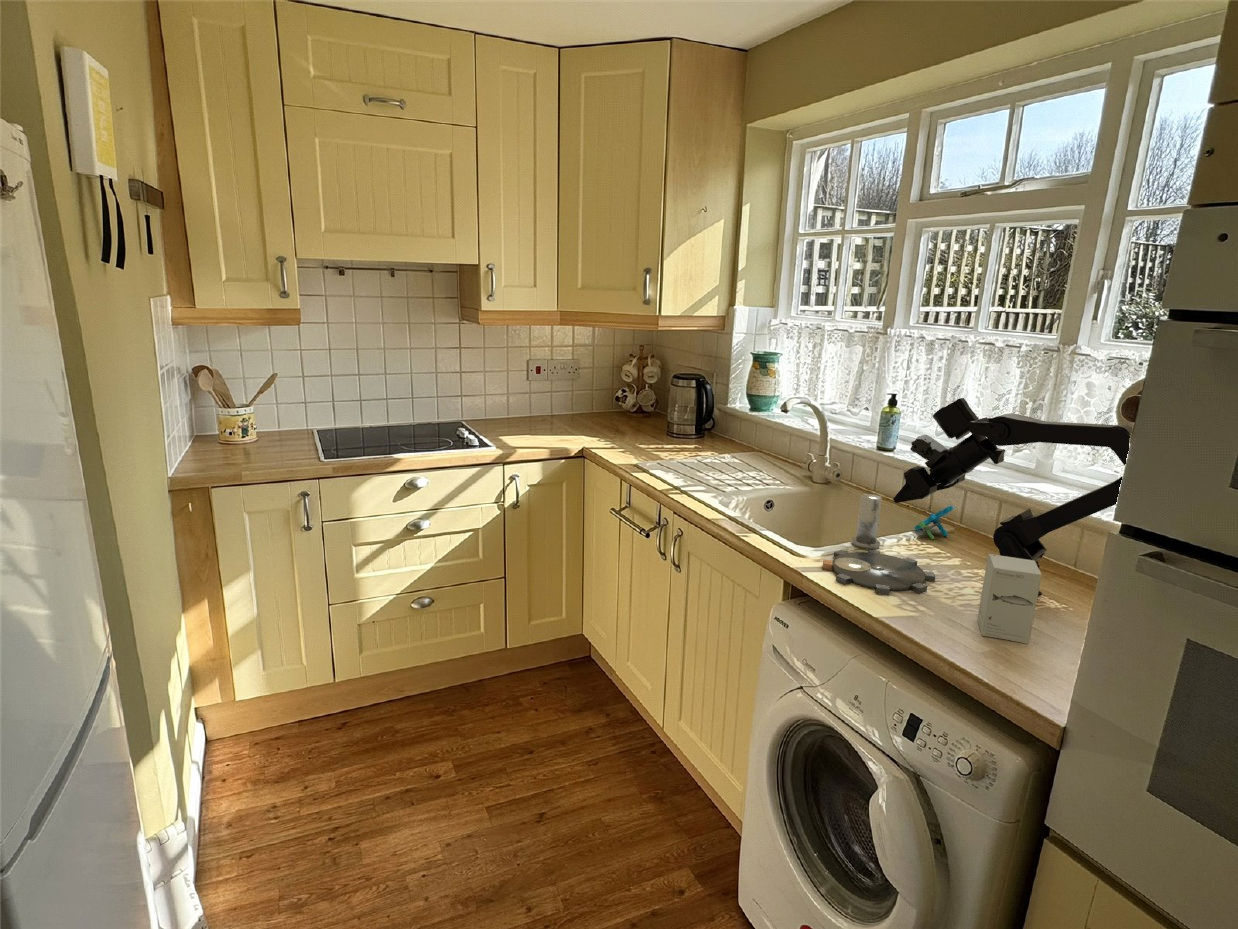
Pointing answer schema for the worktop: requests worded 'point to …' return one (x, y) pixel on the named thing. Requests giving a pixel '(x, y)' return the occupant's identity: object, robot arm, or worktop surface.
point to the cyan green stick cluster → (934, 522)
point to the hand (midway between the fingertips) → (904, 497)
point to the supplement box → (1009, 598)
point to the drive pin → (868, 522)
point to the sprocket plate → (879, 572)
